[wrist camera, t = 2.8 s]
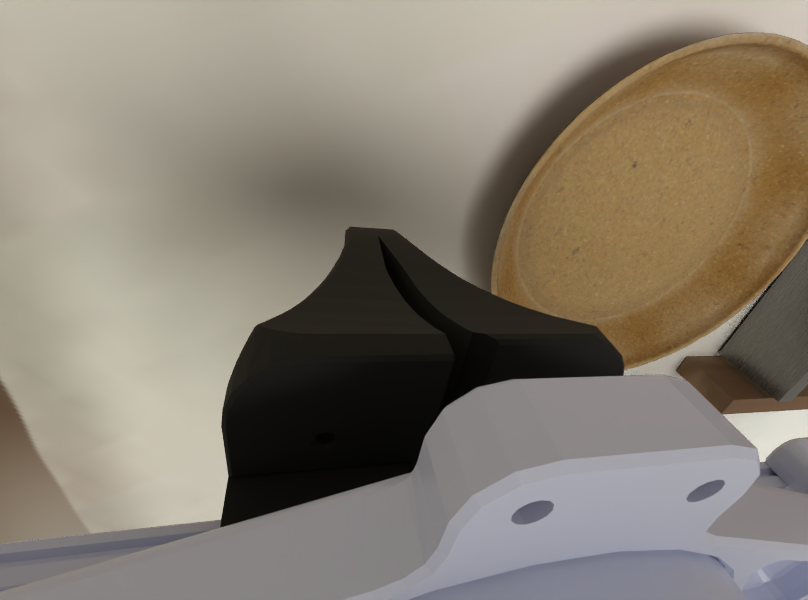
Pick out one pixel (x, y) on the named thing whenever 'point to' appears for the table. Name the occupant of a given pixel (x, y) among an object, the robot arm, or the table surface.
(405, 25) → the table surface
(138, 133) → the table surface
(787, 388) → the pusher plate
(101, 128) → the table surface
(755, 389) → the brown wooden open box
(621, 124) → the plant saucer
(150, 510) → the table surface
